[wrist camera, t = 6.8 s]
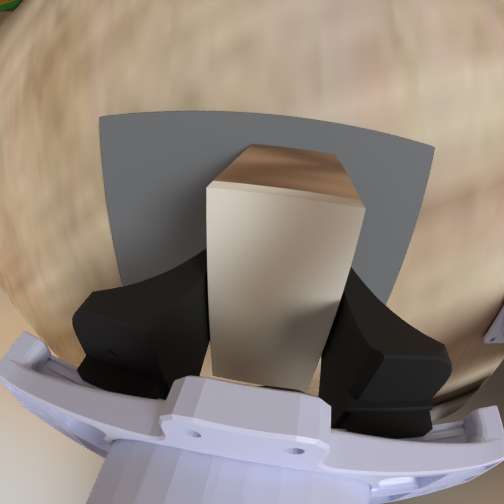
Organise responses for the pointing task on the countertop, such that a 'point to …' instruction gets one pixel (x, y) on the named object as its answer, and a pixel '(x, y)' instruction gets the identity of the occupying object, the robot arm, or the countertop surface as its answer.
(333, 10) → the countertop surface
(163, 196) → the slate mat
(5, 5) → the chalk box
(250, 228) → the beige rectangular block
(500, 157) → the countertop surface
